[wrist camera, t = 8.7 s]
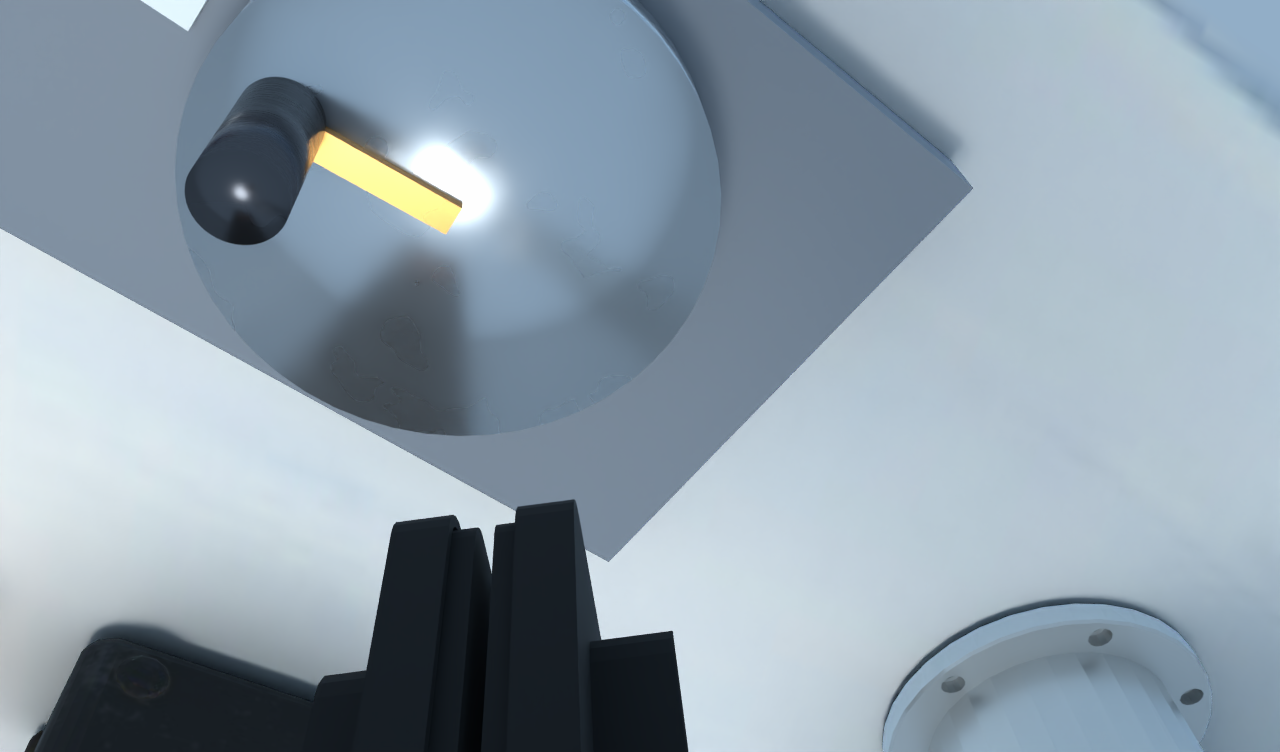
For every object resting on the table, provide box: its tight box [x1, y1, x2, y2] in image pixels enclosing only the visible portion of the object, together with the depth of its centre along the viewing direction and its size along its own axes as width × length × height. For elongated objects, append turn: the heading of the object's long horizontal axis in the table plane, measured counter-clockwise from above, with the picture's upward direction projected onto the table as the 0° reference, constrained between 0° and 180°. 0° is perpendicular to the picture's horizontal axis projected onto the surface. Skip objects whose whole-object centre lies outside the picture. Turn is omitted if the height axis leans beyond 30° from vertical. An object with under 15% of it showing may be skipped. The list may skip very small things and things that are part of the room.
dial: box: [175, 0, 721, 436], centre depth 27 cm, size 13×13×6 cm
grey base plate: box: [0, 0, 973, 562], centre depth 30 cm, size 22×16×2 cm
